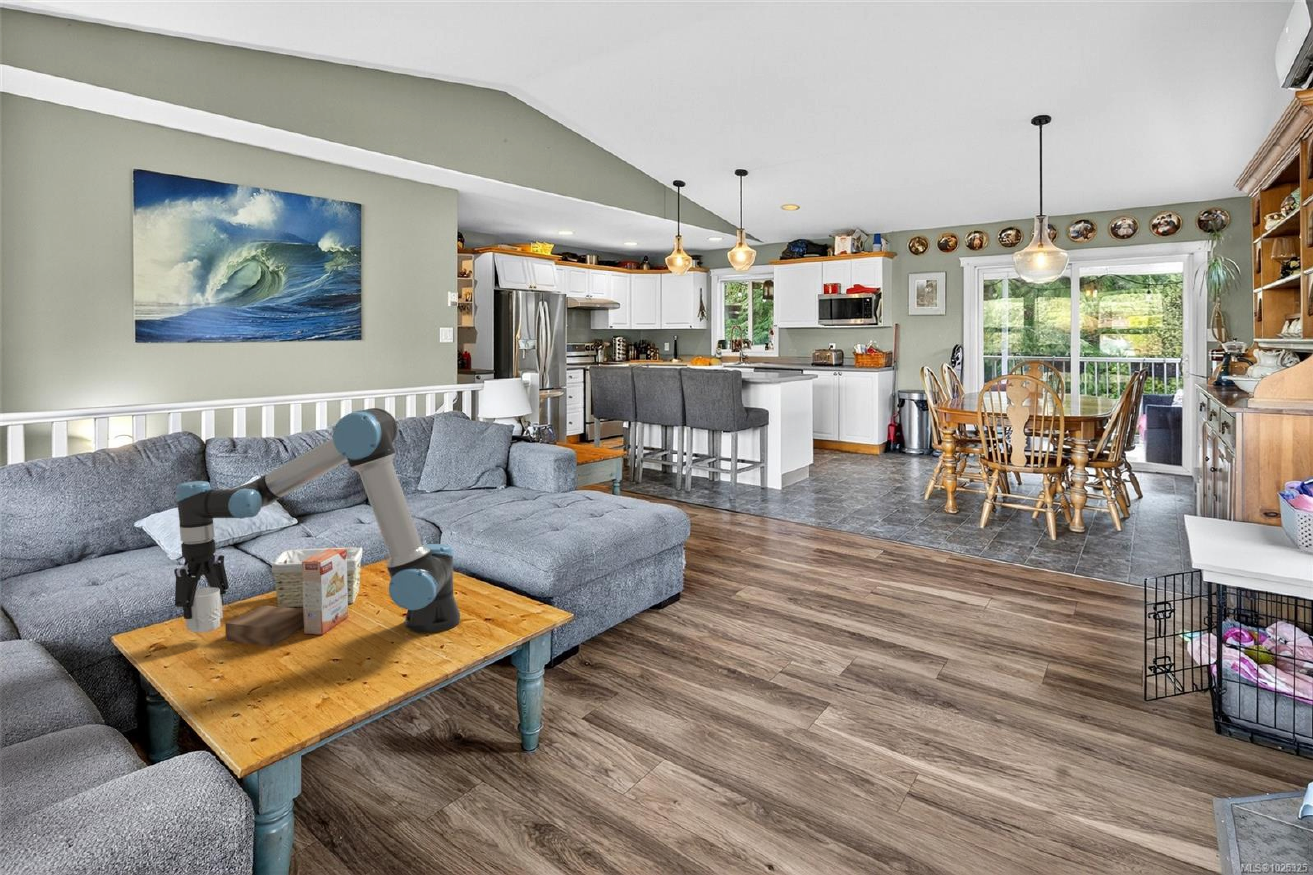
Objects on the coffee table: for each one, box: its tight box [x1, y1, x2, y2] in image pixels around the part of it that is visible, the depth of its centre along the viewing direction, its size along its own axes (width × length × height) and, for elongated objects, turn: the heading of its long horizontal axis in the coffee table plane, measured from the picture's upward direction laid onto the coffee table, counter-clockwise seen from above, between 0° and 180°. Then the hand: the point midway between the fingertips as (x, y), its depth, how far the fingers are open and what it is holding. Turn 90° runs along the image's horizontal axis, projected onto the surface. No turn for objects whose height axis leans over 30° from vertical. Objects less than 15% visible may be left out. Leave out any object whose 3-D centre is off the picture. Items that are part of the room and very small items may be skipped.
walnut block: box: [224, 604, 304, 647], centre depth 197 cm, size 14×14×5 cm
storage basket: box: [271, 547, 363, 608], centre depth 224 cm, size 24×16×15 cm
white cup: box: [187, 586, 221, 634], centre depth 190 cm, size 8×8×10 cm
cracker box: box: [302, 547, 349, 636], centre depth 202 cm, size 14×6×21 cm, turn 175°
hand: (205, 623), depth 191 cm, fingers closed on white cup, 8 cm apart
